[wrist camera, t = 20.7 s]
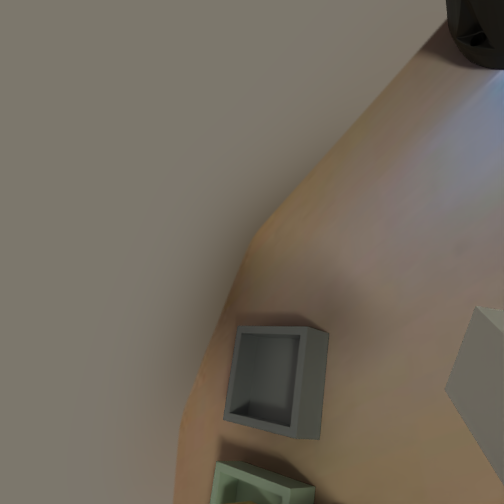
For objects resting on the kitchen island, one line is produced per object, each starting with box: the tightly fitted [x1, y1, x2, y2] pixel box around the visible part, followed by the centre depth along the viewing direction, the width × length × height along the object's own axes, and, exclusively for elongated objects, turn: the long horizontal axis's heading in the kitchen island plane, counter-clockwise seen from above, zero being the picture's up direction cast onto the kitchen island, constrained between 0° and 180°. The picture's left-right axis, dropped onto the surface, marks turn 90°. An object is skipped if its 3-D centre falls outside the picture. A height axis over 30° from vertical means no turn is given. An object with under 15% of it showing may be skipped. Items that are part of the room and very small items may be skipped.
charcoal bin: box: [223, 326, 329, 440], centre depth 43 cm, size 10×10×4 cm
